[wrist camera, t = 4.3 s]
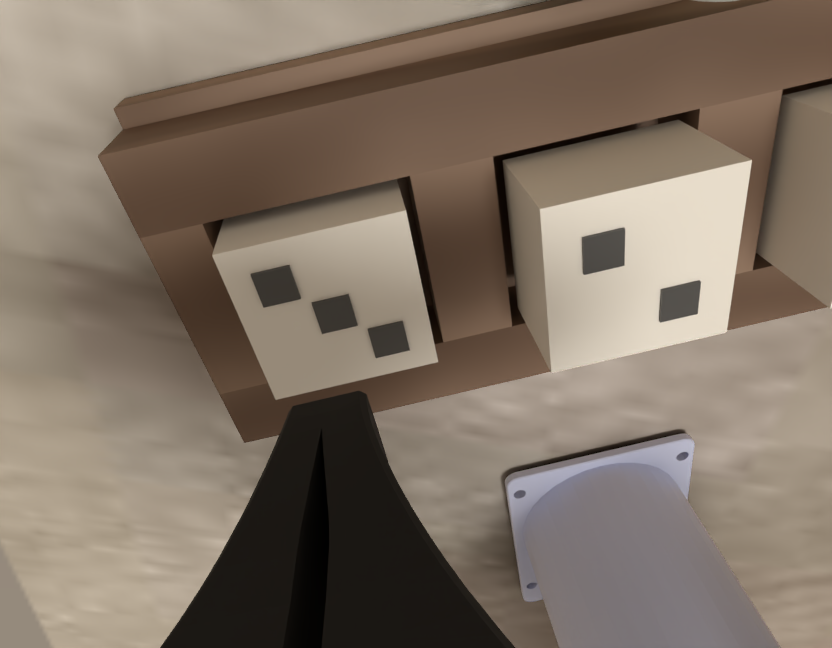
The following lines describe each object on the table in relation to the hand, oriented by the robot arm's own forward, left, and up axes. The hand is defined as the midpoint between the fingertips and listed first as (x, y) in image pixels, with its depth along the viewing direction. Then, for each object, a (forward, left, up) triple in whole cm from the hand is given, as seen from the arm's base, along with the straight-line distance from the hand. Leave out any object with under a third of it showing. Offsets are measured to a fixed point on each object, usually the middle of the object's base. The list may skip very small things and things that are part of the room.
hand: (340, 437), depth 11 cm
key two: (0, -7, -6) cm, 9 cm away
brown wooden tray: (0, -7, -8) cm, 11 cm away
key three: (0, 0, -7) cm, 7 cm away
